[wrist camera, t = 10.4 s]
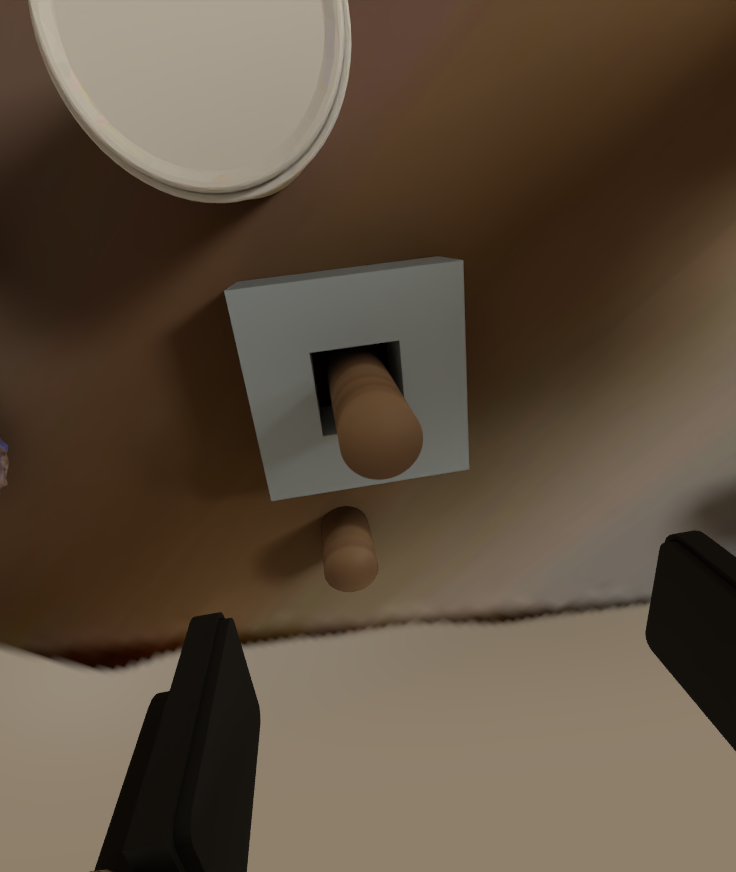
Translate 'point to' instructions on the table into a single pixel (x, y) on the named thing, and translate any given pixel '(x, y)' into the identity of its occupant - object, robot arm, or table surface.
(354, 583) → the short dowel
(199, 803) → the robot arm
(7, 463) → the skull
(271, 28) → the coffee cup
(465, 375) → the hole block
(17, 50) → the table surface
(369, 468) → the long dowel
